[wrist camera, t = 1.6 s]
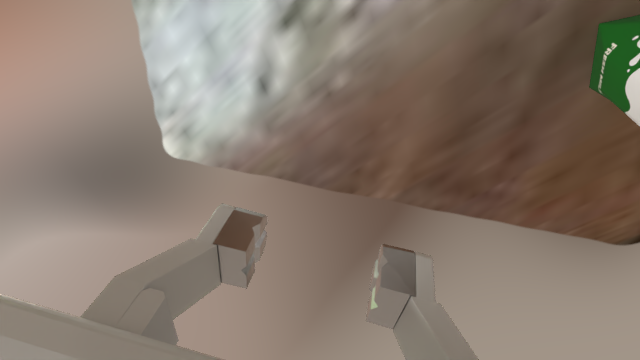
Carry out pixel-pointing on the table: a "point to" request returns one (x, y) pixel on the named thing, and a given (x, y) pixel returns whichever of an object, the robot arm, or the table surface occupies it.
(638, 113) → the soya milk
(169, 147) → the table surface
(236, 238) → the robot arm
